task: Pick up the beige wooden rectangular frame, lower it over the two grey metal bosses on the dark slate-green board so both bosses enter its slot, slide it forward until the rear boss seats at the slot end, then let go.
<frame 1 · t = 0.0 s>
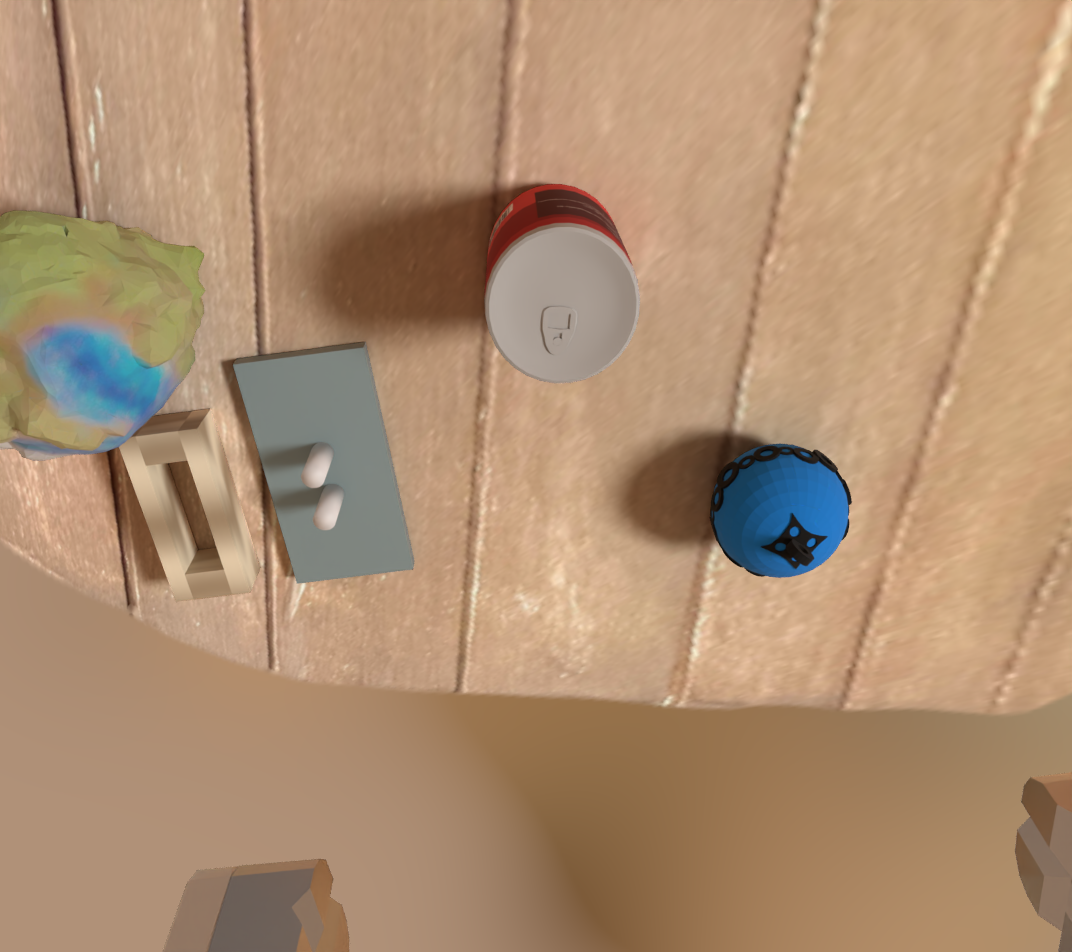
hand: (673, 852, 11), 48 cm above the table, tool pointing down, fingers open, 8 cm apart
beige wooden rectangular frame: (199, 496, 63), on the table
ornament: (762, 477, 64), on the table
decorative rock: (95, 273, 56), on the table
canned food: (552, 249, 56), on the table
boss board: (330, 465, 62), on the table
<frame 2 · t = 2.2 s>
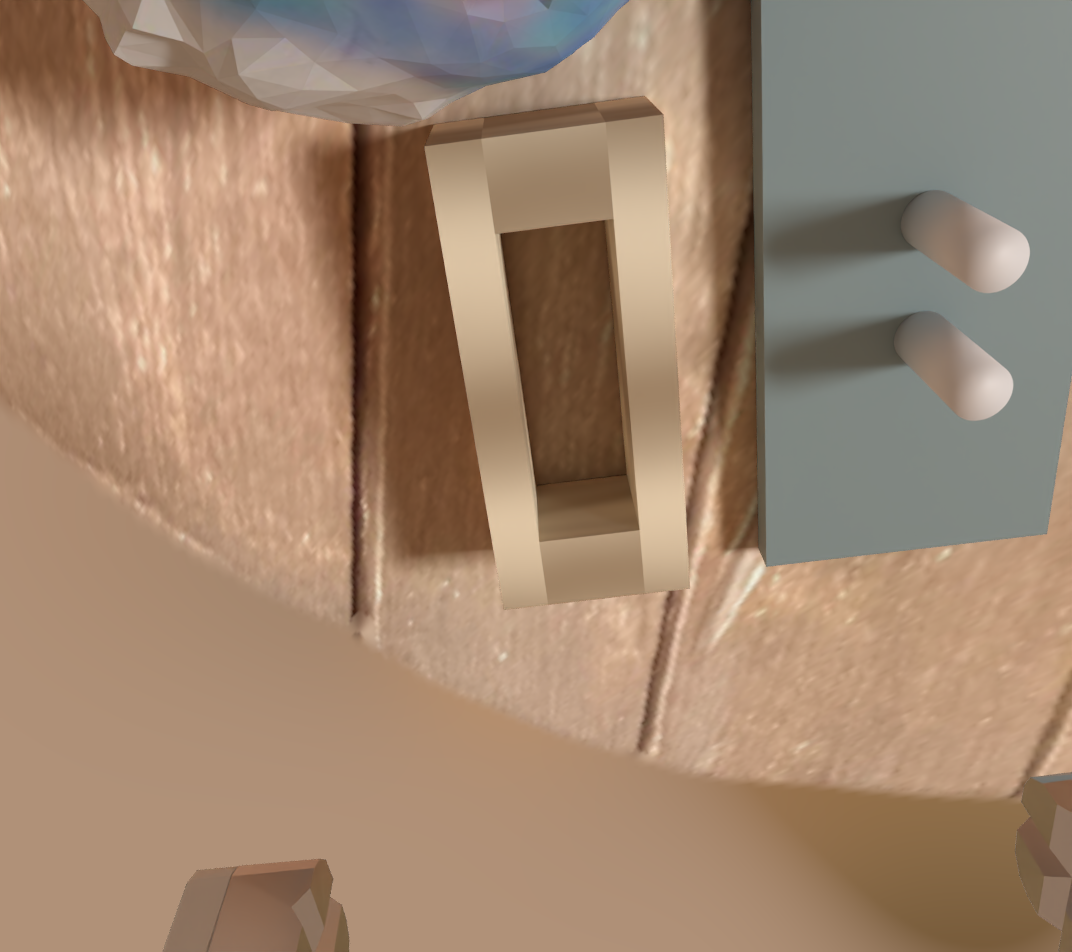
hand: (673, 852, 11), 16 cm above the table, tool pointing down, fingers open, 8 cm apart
beige wooden rectangular frame: (566, 348, 25), on the table
boss board: (910, 268, 25), on the table
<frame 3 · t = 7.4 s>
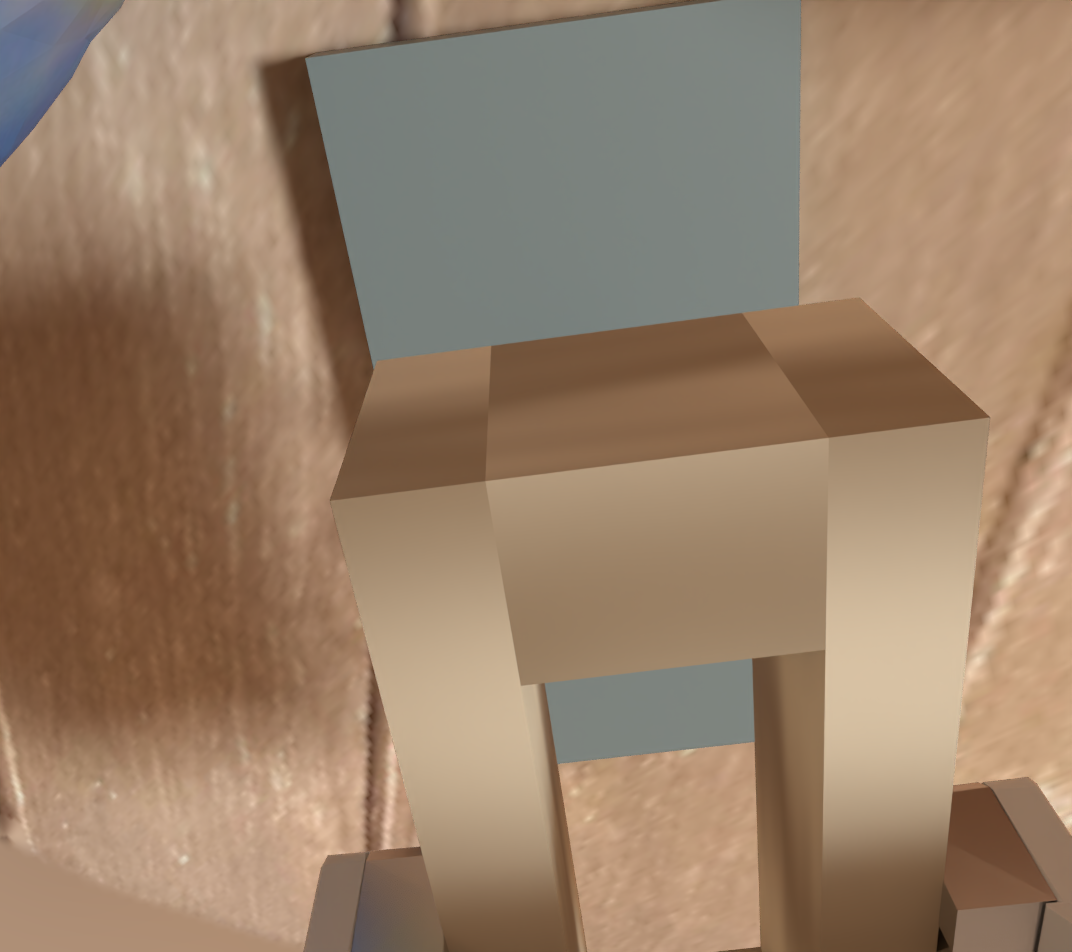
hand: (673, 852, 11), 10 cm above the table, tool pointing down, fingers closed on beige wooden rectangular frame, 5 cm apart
beige wooden rectangular frame: (656, 760, 13), point 9 cm above the table, touching gripper
boss board: (593, 440, 20), on the table
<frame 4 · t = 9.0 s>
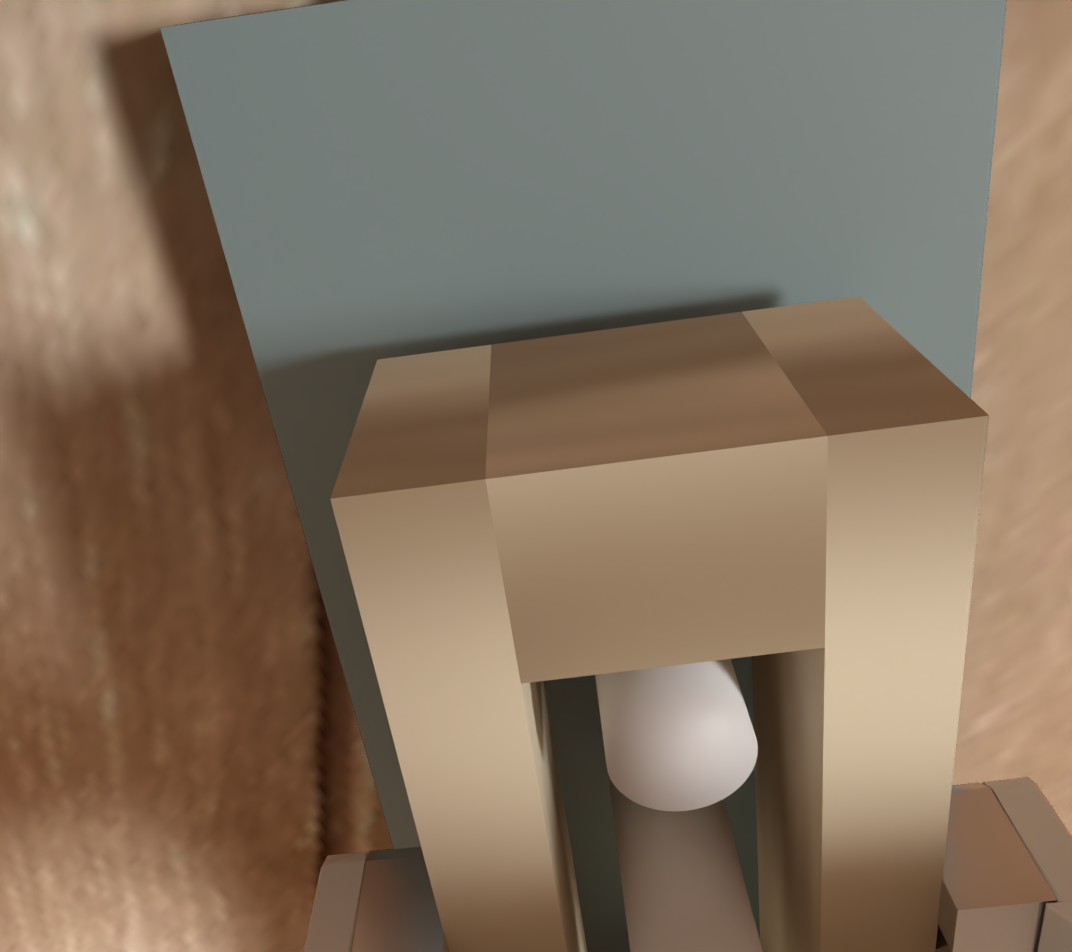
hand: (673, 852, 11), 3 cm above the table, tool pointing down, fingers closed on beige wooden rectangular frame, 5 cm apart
beige wooden rectangular frame: (656, 758, 13), point 2 cm above the table, touching gripper
boss board: (636, 603, 14), on the table
when the fingers open (3 cm above the table, at t = 10.1 s): beige wooden rectangular frame stays where it is, resting on boss board.
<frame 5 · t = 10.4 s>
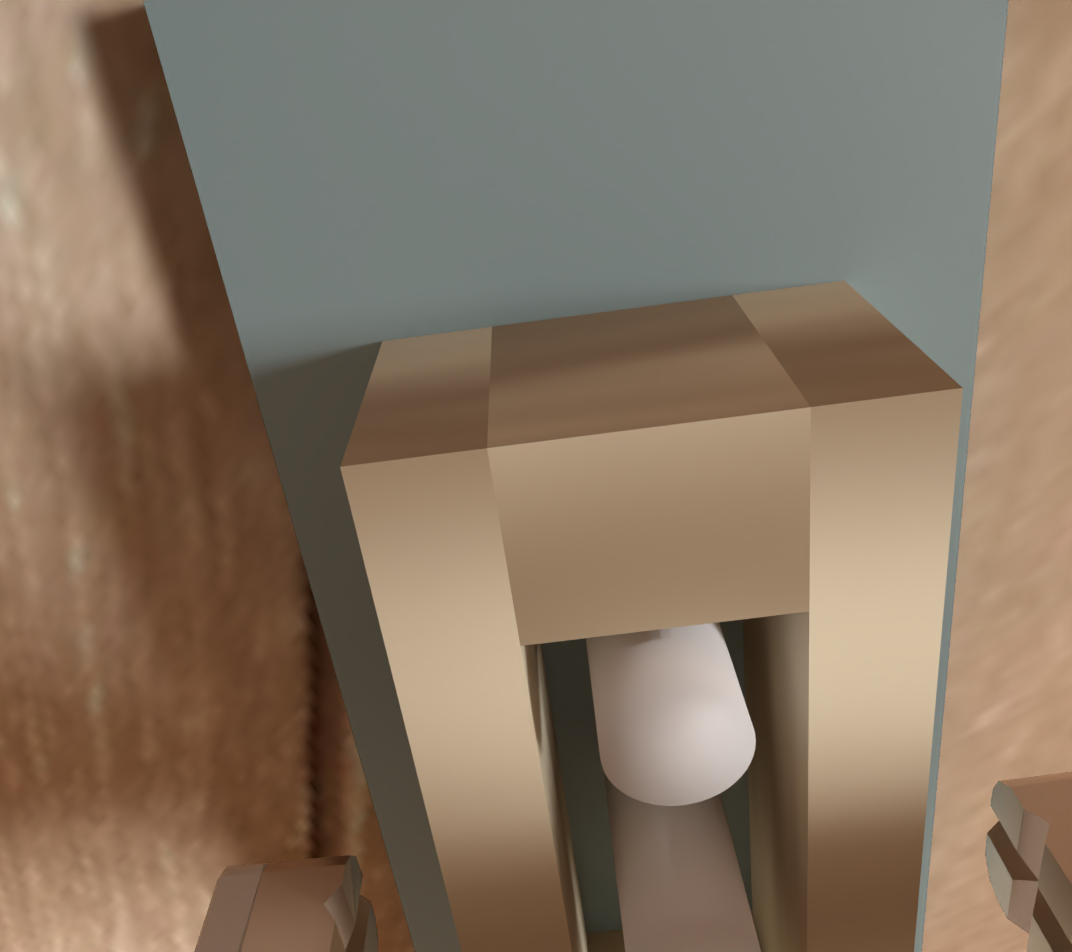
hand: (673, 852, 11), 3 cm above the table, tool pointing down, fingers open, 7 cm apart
beige wooden rectangular frame: (651, 731, 13), point 1 cm above the table, touching boss board
boss board: (632, 597, 13), on the table
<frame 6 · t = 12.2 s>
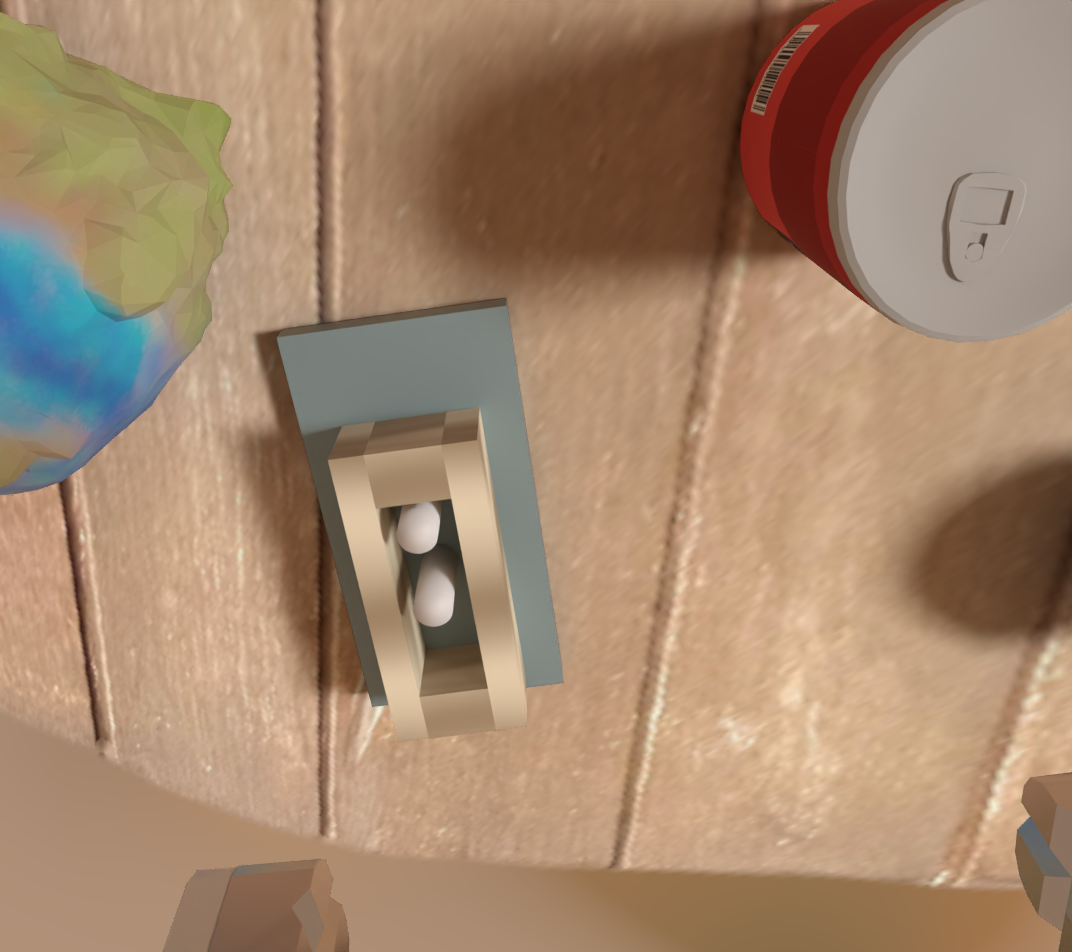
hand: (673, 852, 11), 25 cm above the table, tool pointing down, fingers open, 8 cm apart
beige wooden rectangular frame: (440, 560, 37), point 1 cm above the table, touching boss board
decorative rock: (36, 175, 32), on the table
canned food: (847, 128, 32), on the table
boss board: (434, 513, 37), on the table
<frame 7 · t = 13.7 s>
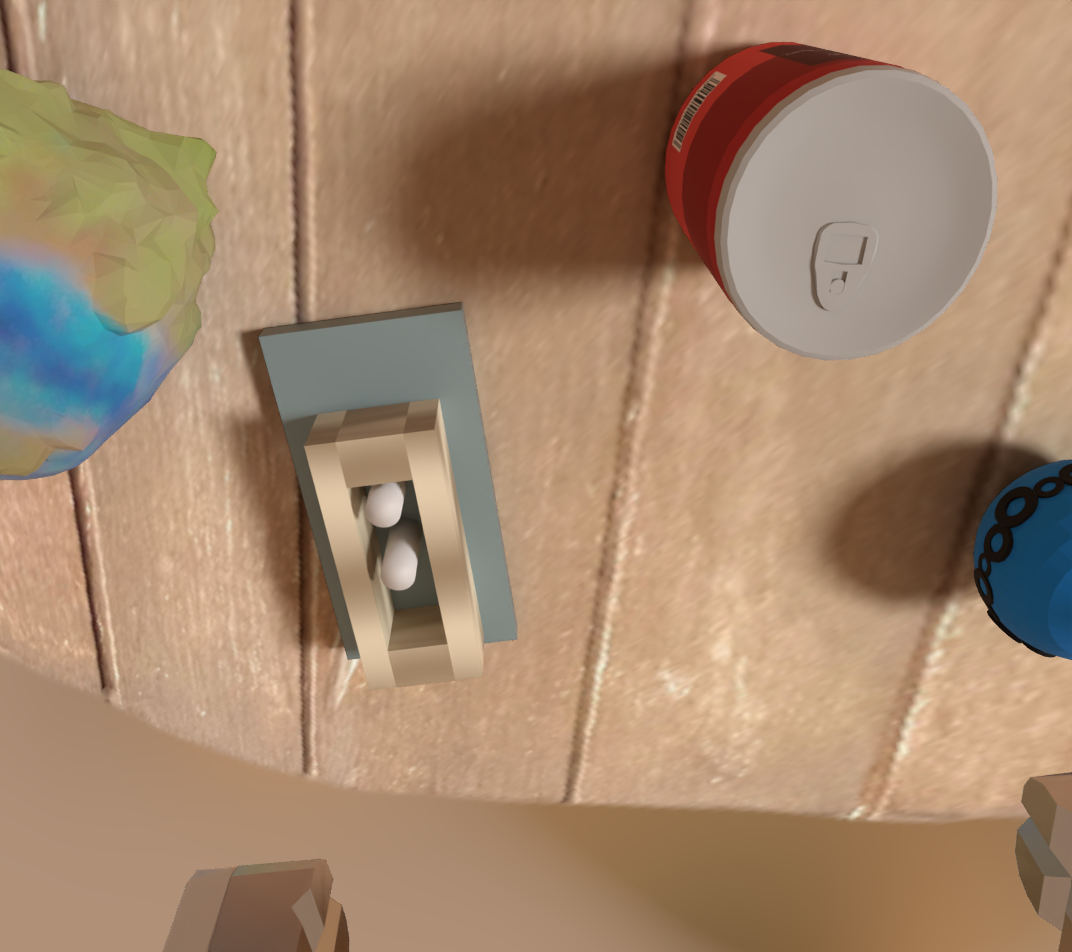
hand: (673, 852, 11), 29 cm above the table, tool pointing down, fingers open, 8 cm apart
beige wooden rectangular frame: (406, 531, 42), point 1 cm above the table, touching boss board
ornament: (1032, 506, 43), on the table
decorative rock: (44, 193, 36), on the table
canned food: (761, 155, 36), on the table
boss board: (401, 490, 42), on the table
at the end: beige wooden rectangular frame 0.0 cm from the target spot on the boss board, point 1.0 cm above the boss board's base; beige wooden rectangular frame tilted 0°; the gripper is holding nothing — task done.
